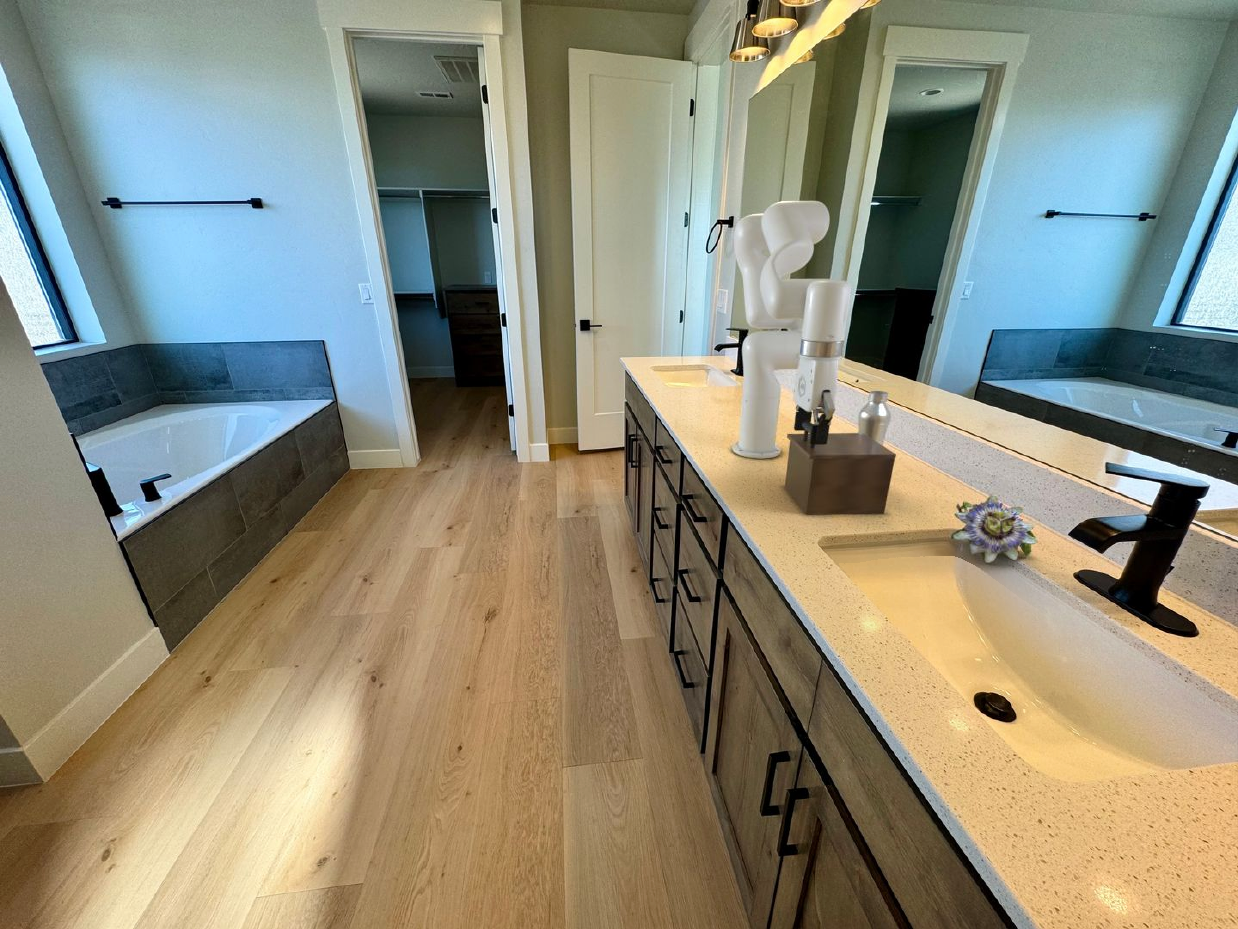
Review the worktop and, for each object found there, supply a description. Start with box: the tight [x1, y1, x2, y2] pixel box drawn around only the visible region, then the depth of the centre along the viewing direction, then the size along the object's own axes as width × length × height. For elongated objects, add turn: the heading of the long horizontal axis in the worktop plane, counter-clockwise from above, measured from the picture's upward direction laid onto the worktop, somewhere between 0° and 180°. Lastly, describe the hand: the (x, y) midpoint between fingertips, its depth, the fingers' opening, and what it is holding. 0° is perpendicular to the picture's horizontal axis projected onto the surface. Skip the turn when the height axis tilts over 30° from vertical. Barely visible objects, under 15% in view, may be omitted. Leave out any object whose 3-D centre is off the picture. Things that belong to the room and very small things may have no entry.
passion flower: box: [950, 493, 1038, 564], centre depth 83 cm, size 11×11×12 cm
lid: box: [786, 421, 897, 459], centre depth 99 cm, size 16×14×5 cm
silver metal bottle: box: [857, 390, 892, 446], centre depth 113 cm, size 6×7×20 cm
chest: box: [784, 440, 896, 516], centre depth 102 cm, size 16×14×12 cm
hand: (809, 436), depth 99 cm, fingers open, 8 cm apart
